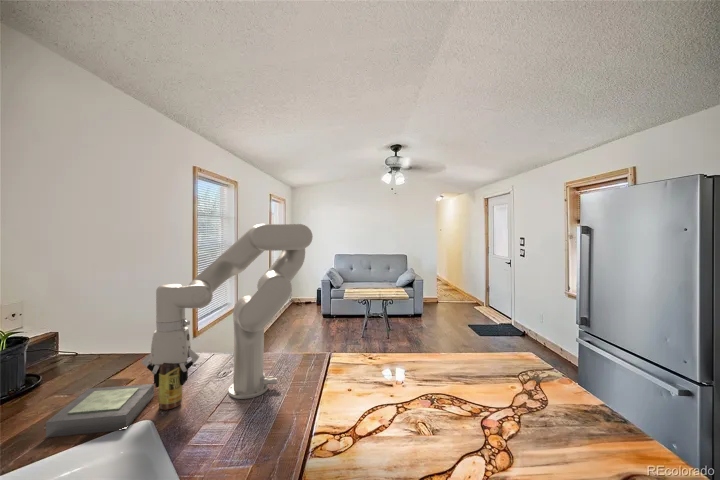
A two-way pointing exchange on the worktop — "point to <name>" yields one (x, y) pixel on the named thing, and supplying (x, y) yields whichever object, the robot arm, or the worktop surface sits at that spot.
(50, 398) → the worktop surface
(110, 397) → the stand
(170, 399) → the sauce bottle
